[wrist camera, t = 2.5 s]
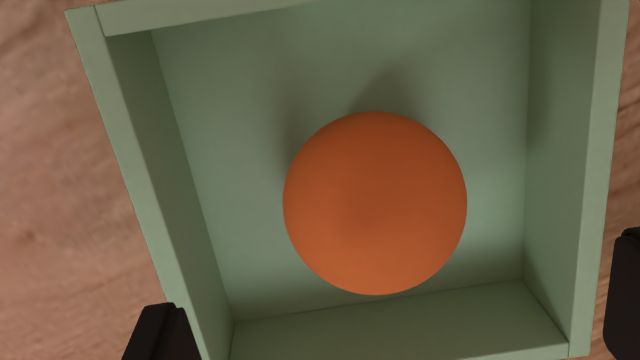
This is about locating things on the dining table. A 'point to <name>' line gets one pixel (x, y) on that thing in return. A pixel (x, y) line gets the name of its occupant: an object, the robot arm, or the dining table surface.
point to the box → (349, 98)
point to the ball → (374, 203)
